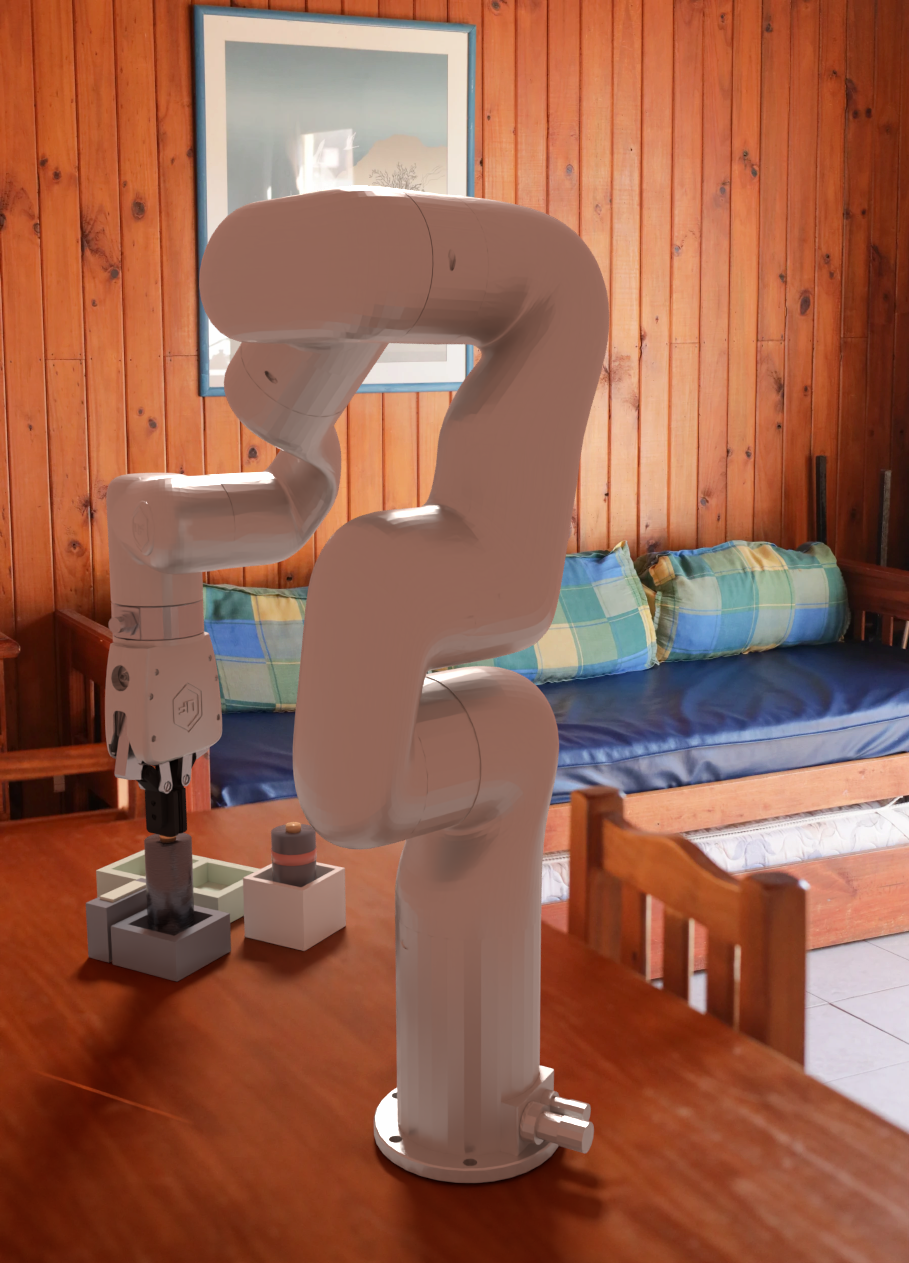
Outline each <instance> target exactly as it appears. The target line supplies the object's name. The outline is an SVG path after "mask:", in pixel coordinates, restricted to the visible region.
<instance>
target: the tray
mask: <svg viewBox="0 0 909 1263" xmlns="http://www.w3.org/2000/svg"><path fill="white" fill-rule="evenodd" d="M192 862H193V891H194V905H196V906H200V907H204V908H209V909H213V910H217V911H222V912H226V913H230V924H231V923H233V922H234V921H236V920H238V919H240V918H242V917H244V896H243V878H244V877H246V876H248V875H250V874H252V873H254V872H256V871H258V870H260V869H261V868H257V867H252V866H248V865H244V864H238V863H235V862H228V861H224V860H221V859H220V860H219V859H215V858H214V859H213V858H211V857H210V858H209V857H205V856H201V855H195V854H192ZM95 876H96V898H98V897H100V896H101V895H103V894H106V893H108V892H110V891H112V890H114V889H117V888H119V887H121V886H123V885H125V884H128V883H130V882H132V881H135V880H137V879H140V878H144V879H146V872H145V849H142V850H139V851H138V852H135V853H133V854H131V855H129V856H127V857H123V858H122V859H119V860H117V861H115V862H112V863H110V864H108V865H105V866H103V867H101V868H99V869H96V870H95Z"/></svg>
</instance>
